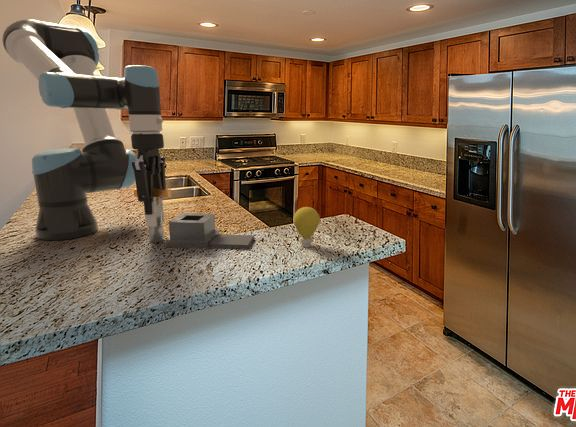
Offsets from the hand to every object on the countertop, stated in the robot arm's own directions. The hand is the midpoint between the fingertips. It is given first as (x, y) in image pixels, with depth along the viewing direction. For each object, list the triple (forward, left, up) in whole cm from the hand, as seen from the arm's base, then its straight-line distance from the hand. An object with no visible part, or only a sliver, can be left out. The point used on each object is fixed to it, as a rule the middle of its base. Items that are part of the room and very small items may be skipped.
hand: (155, 223), depth 96 cm
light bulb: (+19, +35, -5) cm, 40 cm away
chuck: (+5, +9, -5) cm, 11 cm away
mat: (+10, +18, -5) cm, 21 cm away
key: (0, 0, -5) cm, 5 cm away
